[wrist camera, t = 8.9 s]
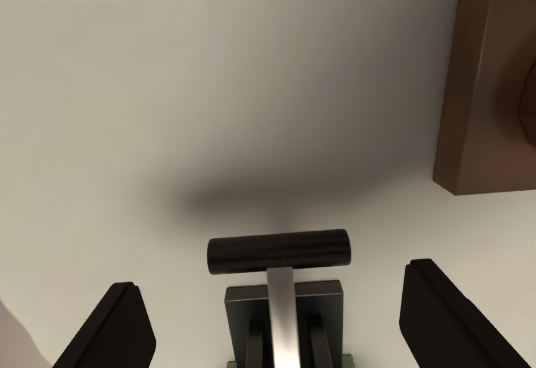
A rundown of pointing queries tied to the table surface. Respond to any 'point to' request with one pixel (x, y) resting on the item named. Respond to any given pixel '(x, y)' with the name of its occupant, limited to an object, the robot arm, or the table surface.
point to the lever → (280, 274)
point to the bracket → (308, 321)
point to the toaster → (346, 362)
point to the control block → (490, 100)
